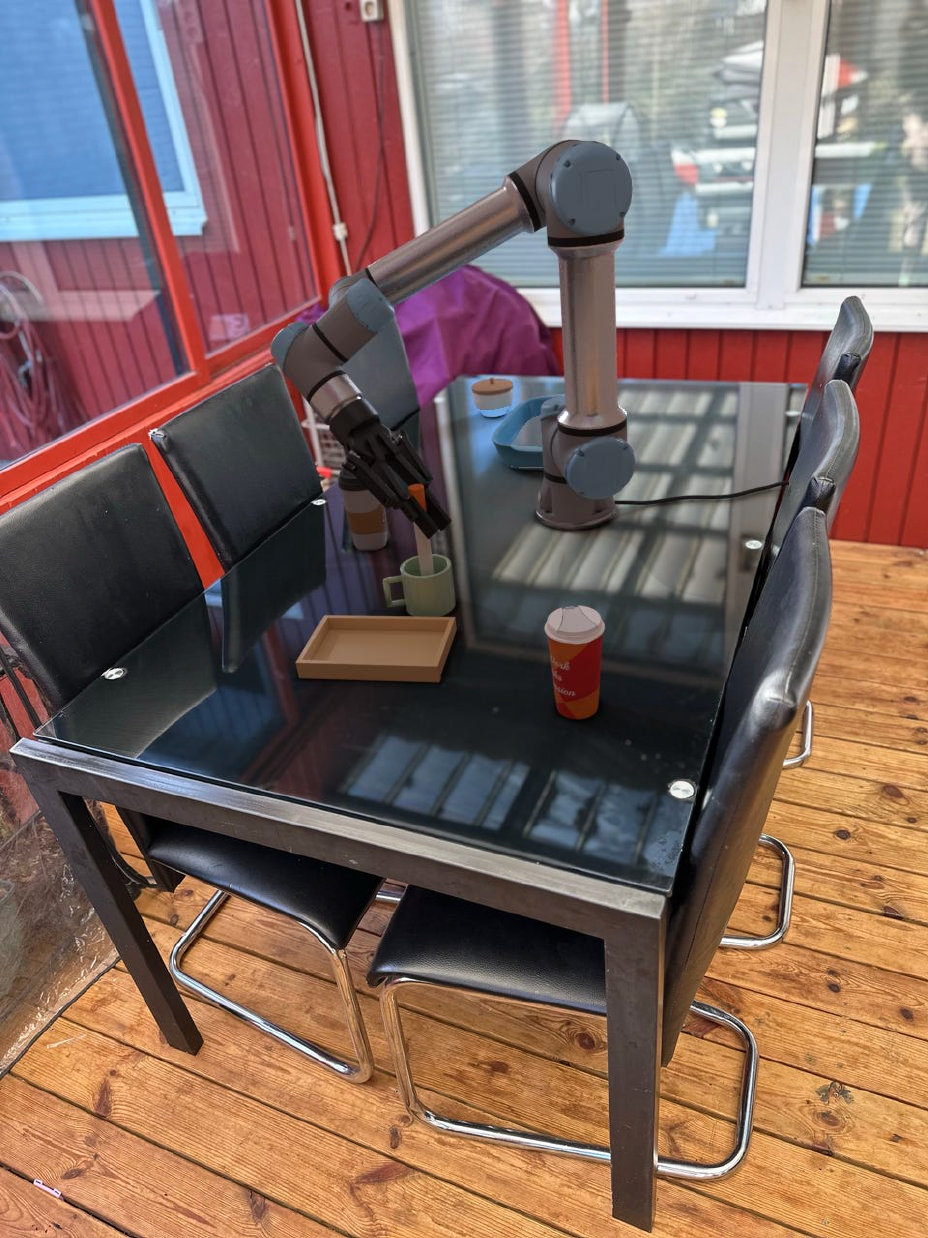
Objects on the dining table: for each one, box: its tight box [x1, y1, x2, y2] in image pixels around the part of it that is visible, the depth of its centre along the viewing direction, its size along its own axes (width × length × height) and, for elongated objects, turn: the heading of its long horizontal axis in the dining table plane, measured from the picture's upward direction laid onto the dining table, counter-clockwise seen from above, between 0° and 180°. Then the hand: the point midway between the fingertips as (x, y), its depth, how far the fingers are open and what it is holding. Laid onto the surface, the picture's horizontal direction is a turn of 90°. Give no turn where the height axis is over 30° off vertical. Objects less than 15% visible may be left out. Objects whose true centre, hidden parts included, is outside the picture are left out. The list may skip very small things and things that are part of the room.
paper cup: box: [544, 605, 606, 720], centre depth 116 cm, size 8×8×14 cm
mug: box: [382, 553, 457, 617], centre depth 144 cm, size 11×8×8 cm
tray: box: [295, 614, 458, 683], centre depth 135 cm, size 22×14×3 cm, turn 80°
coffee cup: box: [337, 468, 388, 551], centre depth 166 cm, size 8×8×15 cm
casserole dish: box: [491, 393, 565, 472], centre depth 202 cm, size 37×22×7 cm, turn 162°
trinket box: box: [470, 377, 514, 410], centre depth 227 cm, size 11×11×9 cm
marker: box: [407, 484, 435, 576], centre depth 139 cm, size 2×2×16 cm
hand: (439, 529), depth 136 cm, fingers closed on marker, 2 cm apart
